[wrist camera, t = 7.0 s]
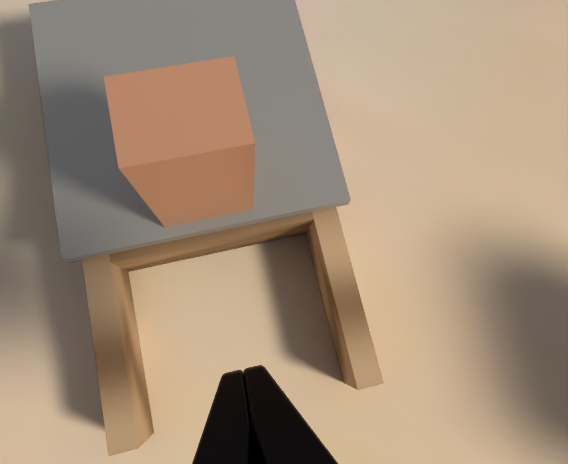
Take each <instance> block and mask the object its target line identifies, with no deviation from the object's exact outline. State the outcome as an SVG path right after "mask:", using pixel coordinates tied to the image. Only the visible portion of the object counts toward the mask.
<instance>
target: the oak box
mask: <svg viewBox="0 0 568 464" xmlns="http://www.w3.org/2000/svg"><path fill="white" fill-rule="evenodd" d="M305 233H306V235H307V239H308V243H309V247H310V251H311V255H312V259H313V263H314V267H315V270H316V274H317V278H318V282H319V286H320V290H321V294H322V298H323V302H324V306H325V310H326V314H327V318H328V322H329V326H330V330H331V334H332V338H333V342H334V346H335V350H336V354H337V358H338V362H339V366H340V370H341V374H342V378H343V381H344V383H345V384H347V385H349V386H351V387H353V388H355V389H357V390H360V389H363V388H367V387H371V386H375V385H379V384H382V383H383V379H382V376H381V372H380V368H379V365H378V361H377V357H376V353H375V350H374V346H373V342H372V339H371V335H370V331H369V328H368V324H367V320H366V317H365V313H364V309H363V305H362V302H361V298H360V294H359V291H358V287H357V283H356V280H355V276H354V272H353V268H352V265H351V261H350V257H349V254H348V250H347V246H346V243H345V239H344V235H343V232H342V228H341V224H340V220H339V217H338V213H337V209H336V207H333V208H328V209H323V210H318V211H313V212H309V213H304V214H299V215H294V216H289V217H285V218H280V219H275V220H270V221H265V222H261V223H256V224H251V225H246V226H242V227H237V228H232V229H227V230H222V231H218V232H213V233H208V234H203V235H198V236H194V237H189V238H184V239H179V240H174V241H170V242H165V243H160V244H155V245H151V246H146V247H141V248H136V249H131V250H127V251H122V252H117V253H112V254H107V255H103V256H98V257H93V258H88V259H83V260H82V265H83V272H84V280H85V287H86V294H87V301H88V309H89V316H90V323H91V331H92V338H93V345H94V352H95V360H96V367H97V374H98V382H99V389H100V396H101V403H102V411H103V418H104V425H105V432H106V440H107V447H108V454H109V456H111V455H115V454H119V453H122V452H126V451H130V450H134V449H137V448H139V447H140V446H141V445H142V444H143V443H144V442H145V441H146V440H147V439H148V438H149V437H150V436H151V435H152V434H153V433H154V431H153V425H152V418H151V412H150V406H149V399H148V393H147V387H146V381H145V374H144V368H143V362H142V356H141V349H140V343H139V337H138V330H137V324H136V318H135V312H134V305H133V299H132V293H131V287H130V280H129V274H128V271H133V270H138V269H142V268H147V267H152V266H156V265H161V264H166V263H170V262H175V261H180V260H184V259H189V258H194V257H198V256H203V255H208V254H212V253H217V252H222V251H226V250H231V249H236V248H240V247H245V246H250V245H254V244H259V243H263V242H268V241H273V240H277V239H282V238H287V237H291V236H296V235H301V234H305Z"/></svg>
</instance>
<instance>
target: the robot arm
mask: <svg viewBox="0 0 568 464" xmlns="http://www.w3.org/2000/svg"><path fill="white" fill-rule="evenodd" d="M192 464H338V463H337V462H336V460H335V459H334V458H333V456H332V455H331V454H330V452H329V451H328V450H327V449H326V447H325V446H324V445H323V443H322V442H321V441H320V439H319V438H318V437H317V435H316V434H315V433H314V431H313V430H312V429H311V428H310V426H309V425H308V424H307V422H306V421H305V420H304V418H303V417H302V416H301V414H300V413H299V412H298V410H297V409H296V408H295V407H294V405H293V404H292V403H291V401H290V400H289V399H288V397H287V396H286V395H285V393H284V392H283V391H282V389H281V388H280V387H279V386H278V384H277V383H276V382H275V380H274V379H273V378H272V376H271V375H270V374H269V372H268V371H267V370H266V368H265V367H264V366H262V365H259V366H254V367H250V368H246V369H245V370H244V374H243V372H242V371H241V370H237V371H232V372H228V373H225V374H223V375H222V377H221V380H220V383H219V386H218V389H217V392H216V395H215V398H214V401H213V404H212V407H211V409H210V412H209V415H208V418H207V421H206V424H205V427H204V430H203V433H202V436H201V439H200V442H199V445H198V448H197V451H196V454H195V457H194V460H193V463H192Z"/></svg>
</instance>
